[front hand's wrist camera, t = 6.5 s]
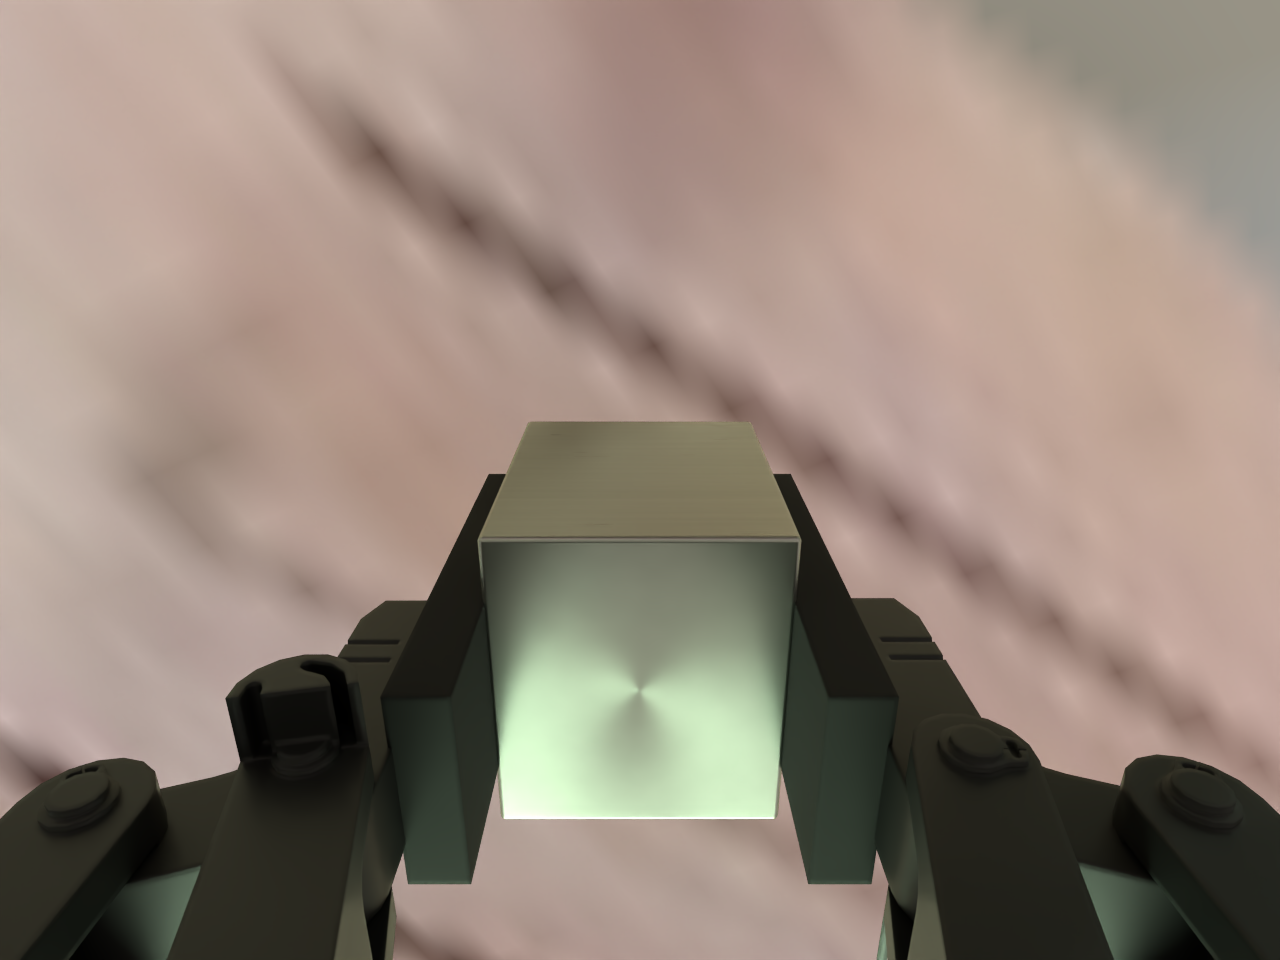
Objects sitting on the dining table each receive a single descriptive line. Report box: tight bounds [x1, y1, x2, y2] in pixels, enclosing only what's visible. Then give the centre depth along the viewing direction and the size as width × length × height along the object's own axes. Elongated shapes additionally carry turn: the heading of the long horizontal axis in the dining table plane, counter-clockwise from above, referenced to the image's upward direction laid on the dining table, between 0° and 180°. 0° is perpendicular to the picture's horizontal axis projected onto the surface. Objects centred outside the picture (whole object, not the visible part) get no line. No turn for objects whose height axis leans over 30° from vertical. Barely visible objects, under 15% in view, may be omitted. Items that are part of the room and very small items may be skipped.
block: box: [478, 422, 801, 819], centre depth 13 cm, size 5×4×5 cm
